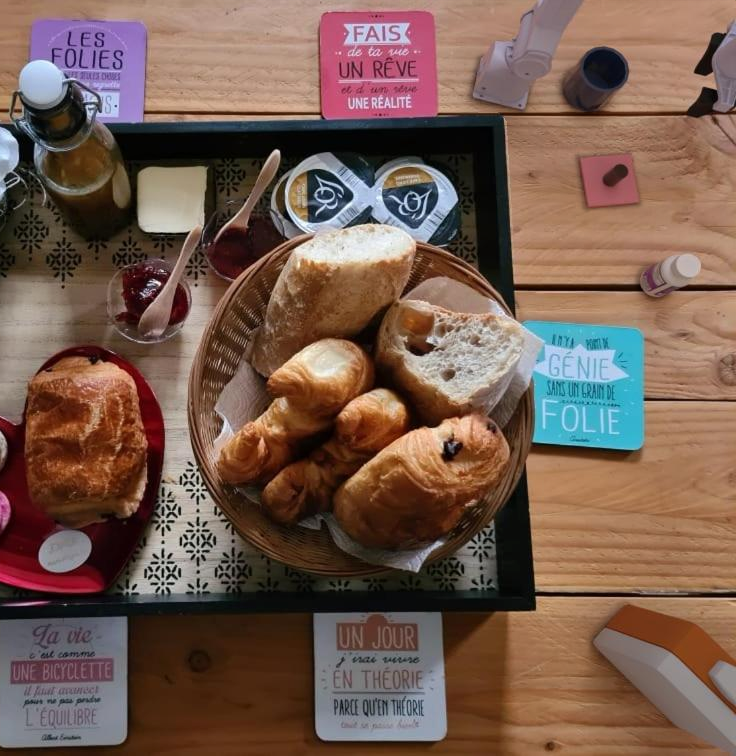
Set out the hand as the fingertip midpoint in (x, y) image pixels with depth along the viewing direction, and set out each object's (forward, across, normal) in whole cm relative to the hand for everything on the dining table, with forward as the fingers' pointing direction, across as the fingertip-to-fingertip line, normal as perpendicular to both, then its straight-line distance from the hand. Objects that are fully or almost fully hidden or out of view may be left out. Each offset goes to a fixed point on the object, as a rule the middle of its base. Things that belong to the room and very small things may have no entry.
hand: (695, 94), depth 120 cm
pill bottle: (+10, -29, -4) cm, 31 cm away
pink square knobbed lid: (+10, -13, +7) cm, 18 cm away
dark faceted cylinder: (+10, +3, +14) cm, 18 cm away
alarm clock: (+10, -91, -14) cm, 93 cm away
